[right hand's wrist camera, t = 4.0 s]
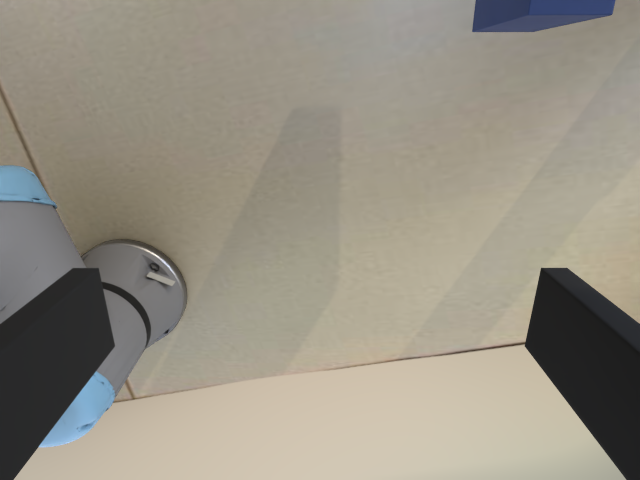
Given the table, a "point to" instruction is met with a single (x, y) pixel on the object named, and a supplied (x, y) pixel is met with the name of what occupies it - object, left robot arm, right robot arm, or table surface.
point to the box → (535, 14)
